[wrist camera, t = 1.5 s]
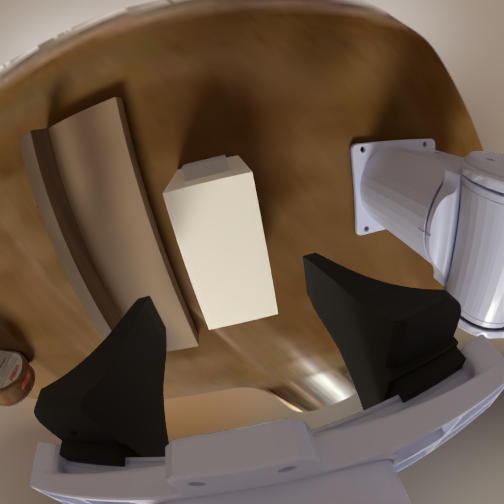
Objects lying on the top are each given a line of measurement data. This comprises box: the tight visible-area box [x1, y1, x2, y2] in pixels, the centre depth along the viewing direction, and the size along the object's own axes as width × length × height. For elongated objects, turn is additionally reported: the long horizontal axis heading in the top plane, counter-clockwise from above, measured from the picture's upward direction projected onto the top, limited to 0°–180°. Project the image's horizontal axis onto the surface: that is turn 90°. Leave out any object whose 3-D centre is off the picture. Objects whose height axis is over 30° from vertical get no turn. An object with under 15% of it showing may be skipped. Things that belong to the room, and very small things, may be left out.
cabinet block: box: [163, 155, 278, 330], centre depth 18 cm, size 4×10×7 cm, turn 11°
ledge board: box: [19, 97, 199, 352], centre depth 19 cm, size 7×22×4 cm, turn 11°
